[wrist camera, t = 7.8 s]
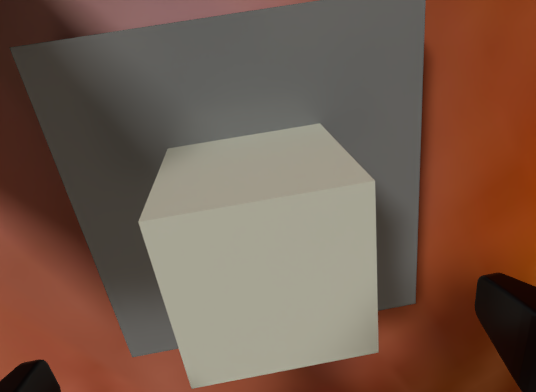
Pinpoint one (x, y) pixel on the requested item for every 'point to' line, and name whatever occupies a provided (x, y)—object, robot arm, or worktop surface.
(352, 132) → the plinth
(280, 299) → the cube
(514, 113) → the worktop surface
